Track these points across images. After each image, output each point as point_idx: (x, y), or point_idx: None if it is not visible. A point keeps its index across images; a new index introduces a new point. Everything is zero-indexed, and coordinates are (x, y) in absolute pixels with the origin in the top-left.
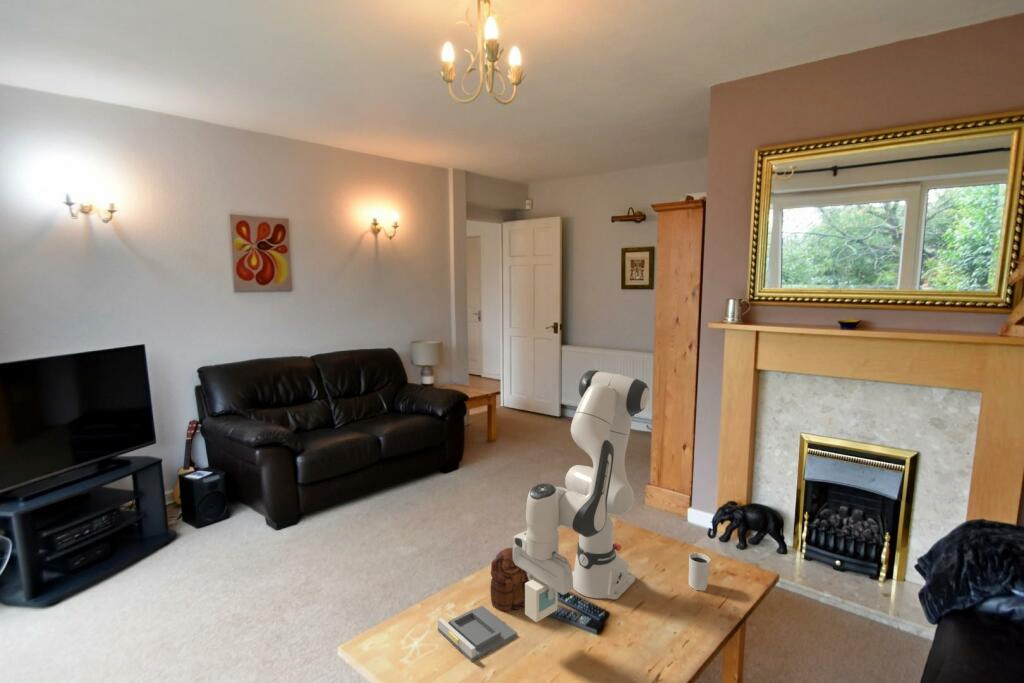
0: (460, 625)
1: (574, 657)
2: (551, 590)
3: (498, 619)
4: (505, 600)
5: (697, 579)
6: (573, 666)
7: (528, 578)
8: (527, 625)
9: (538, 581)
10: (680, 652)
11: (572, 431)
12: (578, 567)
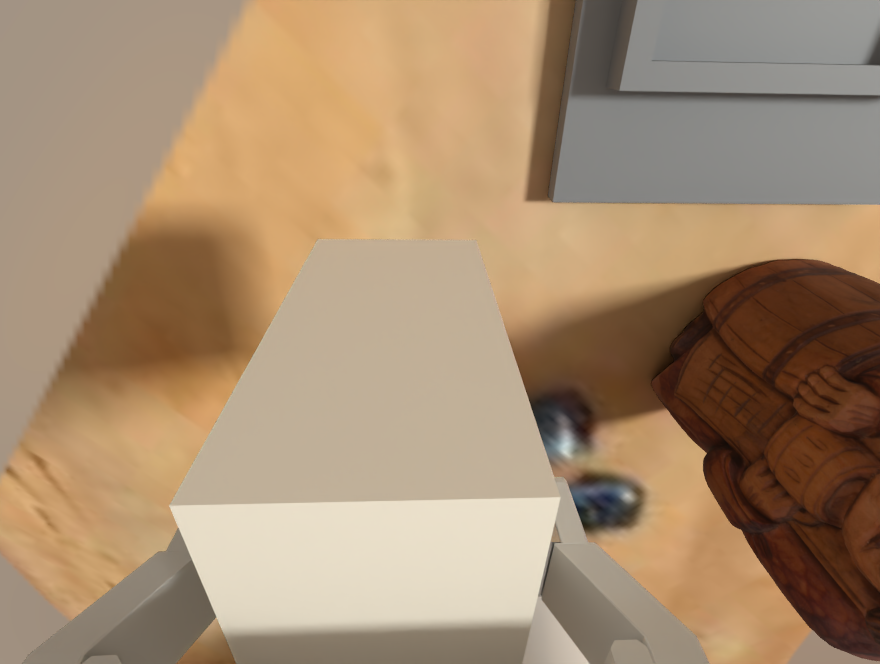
0: None
1: (237, 308)
2: (39, 653)
3: (716, 195)
4: (765, 313)
5: None
6: (185, 263)
7: (632, 580)
8: (558, 294)
9: (411, 645)
10: (86, 566)
11: None
12: (573, 657)
